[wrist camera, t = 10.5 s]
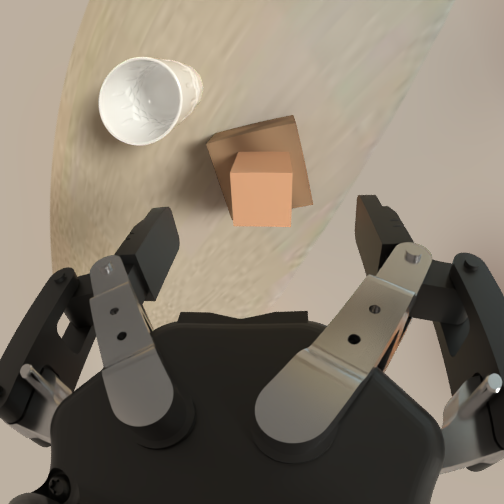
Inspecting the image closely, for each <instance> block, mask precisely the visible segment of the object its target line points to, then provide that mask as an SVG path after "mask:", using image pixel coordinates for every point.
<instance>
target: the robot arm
mask: <svg viewBox="0 0 504 504" xmlns="http://www.w3.org/2000/svg"><path fill="white" fill-rule="evenodd" d="M355 239H356V243H357V246H358V250H359V253H360V256H361V259H362V262H363V265H364V269H365V272H366V276H367V277H366V278H365V279H364V281H363V282H362V283H361V285H360V286H359V287H358V289H357V290H356V291H355V292H354V294H353V295H352V296H351V298H350V299H349V300H348V301H347V303H346V304H345V305H344V307H343V308H342V309H341V310H340V312H339V313H338V314H337V315H336V316H335V318H334V319H333V320H332V321H331V322H330V324H329V325H328V326H326V325H323V324H320V323H317V322H313V321H308V312H307V311H294V312H273V313H268V314H264V315H259V316H254V317H249V318H244V319H237V318H232V317H228V316H223V315H218V314H214V313H206V312H181V313H180V315H179V318H178V321H177V322H173V323H169V324H166V325H164V326H161V327H159V328H157V329H155V330H154V329H153V327H152V324H151V322H150V320H149V318H148V315H147V313H146V311H145V309H144V307H143V305H142V304H143V302H144V301H156V298H157V296H158V294H159V291H160V289H161V287H162V285H163V283H164V280H165V278H166V276H167V274H168V272H169V269H170V267H171V265H172V263H173V261H174V259H175V256H176V254H177V252H178V250H179V244H180V242H179V235H178V232H177V229H176V225H175V222H174V218H173V215H172V211H171V209H170V208H169V207H160V208H152V209H151V211H150V212H149V213H148V215H147V216H146V217H145V219H144V220H142V221H141V222H139V223H138V224H137V225H136V226H134V228H133V229H132V230H131V232H130V234H129V235H128V236H127V237H126V240H124V242H123V243H122V244H121V246H120V247H119V249H118V250H117V252H116V253H115V254H114V255H111V256H107V257H104V258H102V259H100V260H99V261H97V262H96V263H95V264H94V265H93V266H92V268H91V269H90V274H86V275H82V276H79V277H77V275H76V273H75V272H74V270H73V269H72V268H63V269H61V270H59V271H57V272H56V273H54V274H53V275H52V276H51V277H50V278H49V280H48V281H47V283H46V284H45V286H44V287H43V289H42V291H41V292H40V293H39V295H38V296H37V298H36V299H35V301H34V303H33V304H32V305H31V307H30V309H29V310H28V312H27V314H26V315H25V317H24V318H23V320H22V322H21V323H20V325H19V327H18V328H17V330H16V332H15V334H14V336H13V337H12V339H11V341H10V343H9V344H8V346H7V348H6V350H5V352H4V354H3V356H2V358H1V359H0V418H1V419H3V421H4V422H5V423H6V424H8V425H9V426H10V427H12V428H13V429H15V430H16V431H17V432H19V433H20V434H22V435H23V436H25V437H26V438H29V439H31V440H32V441H34V442H35V443H37V444H39V445H40V446H42V447H49V446H51V466H50V473H49V475H48V478H47V480H46V481H45V483H44V484H43V485H42V486H41V487H40V488H38V489H37V490H35V491H34V492H31V493H24V494H21V495H19V496H17V497H15V498H13V499H12V500H11V501H10V503H9V504H430V501H431V497H432V493H433V490H434V487H435V484H436V481H437V478H438V476H439V474H443V473H447V472H451V471H455V470H458V469H462V468H465V467H466V468H467V469H468V470H470V471H474V472H477V471H482V470H484V469H486V468H487V467H489V466H491V465H493V464H495V463H497V462H498V461H500V460H502V459H503V458H504V296H503V294H502V292H501V290H500V288H499V286H498V285H497V283H496V281H495V279H494V278H493V276H492V274H491V273H490V271H489V269H488V267H487V266H486V264H485V263H484V262H483V261H482V260H481V259H480V258H478V257H477V256H475V255H473V254H470V253H459V254H457V255H456V256H455V257H454V260H453V263H452V264H451V263H444V262H440V261H435V260H432V255H431V253H430V252H429V250H427V249H426V248H425V247H423V246H422V245H419V244H416V243H414V242H413V240H412V238H411V237H410V235H409V233H408V231H407V230H406V228H405V227H404V224H403V223H402V221H400V218H399V216H398V215H397V213H396V212H395V211H393V210H392V209H391V208H389V207H388V206H382V205H381V203H380V202H379V200H378V198H377V197H376V195H358V197H357V207H356V221H355ZM63 312H64V313H65V315H66V316H67V318H68V319H69V320H70V323H69V325H68V327H67V329H66V331H65V333H64V335H63V337H62V339H61V337H60V336H59V334H58V332H57V323H58V321H59V319H60V317H61V316H62V314H63ZM413 318H419V319H425V320H430V321H433V324H434V327H435V330H436V334H437V337H438V341H439V344H440V348H441V352H442V355H443V359H444V363H445V367H446V371H447V375H448V380H449V384H450V389H451V394H452V398H451V399H450V400H449V401H448V402H447V404H446V406H445V408H444V412H443V425H442V428H441V429H440V427H439V425H438V423H437V422H436V420H435V419H434V418H433V417H432V416H431V415H430V414H429V413H428V412H427V411H426V410H425V409H424V408H422V407H421V406H420V405H419V404H418V403H417V402H416V401H415V400H414V399H412V398H411V397H410V396H409V395H408V394H407V393H406V392H405V391H403V389H401V388H400V387H399V386H398V385H397V384H396V383H395V382H394V381H393V380H391V379H390V378H389V377H388V376H387V375H386V374H385V373H384V372H385V371H386V368H387V367H388V365H389V363H390V361H391V359H392V357H393V355H394V353H395V351H396V350H397V348H398V346H399V344H400V342H401V340H402V338H403V336H404V335H405V333H406V331H407V329H408V327H409V325H410V323H411V321H412V319H413ZM95 337H97V341H98V345H99V349H100V353H101V357H102V361H103V366H104V368H103V369H102V370H101V371H100V372H99V373H97V374H96V375H95V376H93V377H92V378H91V379H89V380H88V381H87V382H86V383H84V384H83V385H82V386H81V387H79V388H78V389H77V390H75V391H74V389H75V387H76V384H77V381H78V379H79V376H80V374H81V371H82V369H83V366H84V364H85V361H86V359H87V356H88V354H89V351H90V349H91V347H92V344H93V342H94V340H95Z"/></svg>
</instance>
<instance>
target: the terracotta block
mask: <svg viewBox="0 0 504 504" xmlns="http://www.w3.org/2000/svg"><path fill="white" fill-rule="evenodd" d="M292 177H293V172H292V166H291V159H290V152H238V154H237V157H236V159H235V161H234V164H233V166H232V169H231V171H230V181H231V196H232V210H233V223H234V226H276V227H291V208H292Z"/></svg>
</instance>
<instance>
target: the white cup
mask: <svg viewBox="0 0 504 504" xmlns="http://www.w3.org/2000/svg"><path fill="white" fill-rule="evenodd" d="M202 93H203V84H202V81H201V77H200V75H199V74H198V73H197V72H196V71H195V70H194V68H193V67H191V66H189V65H186V64H183V63H181V62H177V61H173V60H167V59H160V58H150V57H136V58H131V59H128V60H126V61H124V62H122V63H120V64H119V65H117V66H116V67H115V68H114V69H113V70H112V71H111V72H110V73H109V74H108V75H107V77H106V78H105V80H104V82H103V84H102V86H101V89H100V93H99V102H98V104H99V113H100V116H101V119H102V122H103V124H104V125H105V127H106V129H107V130H108V131H109V132H110V133H111V134H112V135H113V136H114V137H115V138H117V139H118V140H120V141H122V142H124V143H127V144H130V145H138V146H140V145H148V144H152V143H154V142H157V141H158V140H160V139H162V138H163V137H165V136H166V135H167V134H168V133H169V132H170V131H171V130H173V129H174V128H175V127H176V126H177V125H179V124H180V123H181V122H182V121H183V120H184V119H185V118H186V117H187V116H188V115H189V114H190V113H191V112H193V110H194V109H195V108H196V107H197V105H198V104H199V103H200V101H201V98H202Z"/></svg>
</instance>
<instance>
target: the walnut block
mask: <svg viewBox="0 0 504 504" xmlns="http://www.w3.org/2000/svg"><path fill="white" fill-rule="evenodd" d="M206 145H207V148H208V151H209V154H210V157H211V160H212V163H213V166H214V169H215V172H216V175H217V178H218V180H219V183H220V186H221V189H222V192H223V195H224V198H225V201H226V204H227V207H228V210H229V213H230V215H231V218H232V220H233V210H232V196H231V181H230V171H231V169H232V166H233V164H234V161H235V159H236V157H237V154H238V152H290V159H291V166H292V172H293V177H292V208H297V207H302V206H308V205H313V201H312V196H311V191H310V185H309V180H308V176H307V171H306V166H305V161H304V157H303V152H302V147H301V143H300V139H299V134H298V130H297V126H296V122H295V119H294V116H293V115H291V116H286V117H281V118H276V119H271V120H267V121H263V122H258V123H254V124H250V125H246V126H242V127H238V128H234V129H230V130H226V131H223V132H219V133H215V134H214V135H213V137H212V138H211V139H210V140H209V141H208V143H207V144H206Z"/></svg>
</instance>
